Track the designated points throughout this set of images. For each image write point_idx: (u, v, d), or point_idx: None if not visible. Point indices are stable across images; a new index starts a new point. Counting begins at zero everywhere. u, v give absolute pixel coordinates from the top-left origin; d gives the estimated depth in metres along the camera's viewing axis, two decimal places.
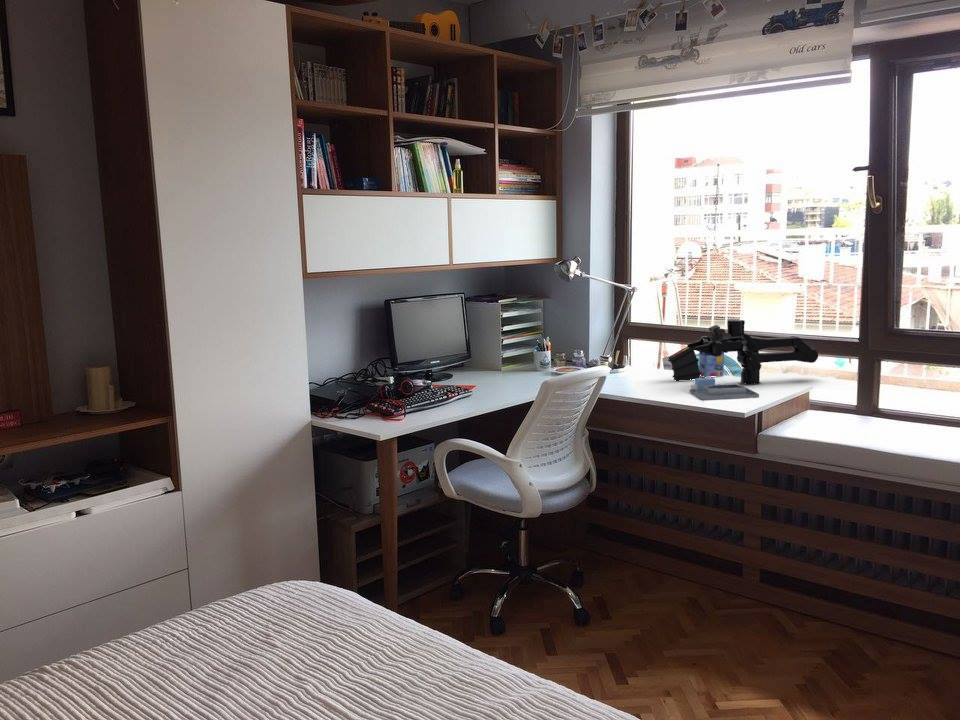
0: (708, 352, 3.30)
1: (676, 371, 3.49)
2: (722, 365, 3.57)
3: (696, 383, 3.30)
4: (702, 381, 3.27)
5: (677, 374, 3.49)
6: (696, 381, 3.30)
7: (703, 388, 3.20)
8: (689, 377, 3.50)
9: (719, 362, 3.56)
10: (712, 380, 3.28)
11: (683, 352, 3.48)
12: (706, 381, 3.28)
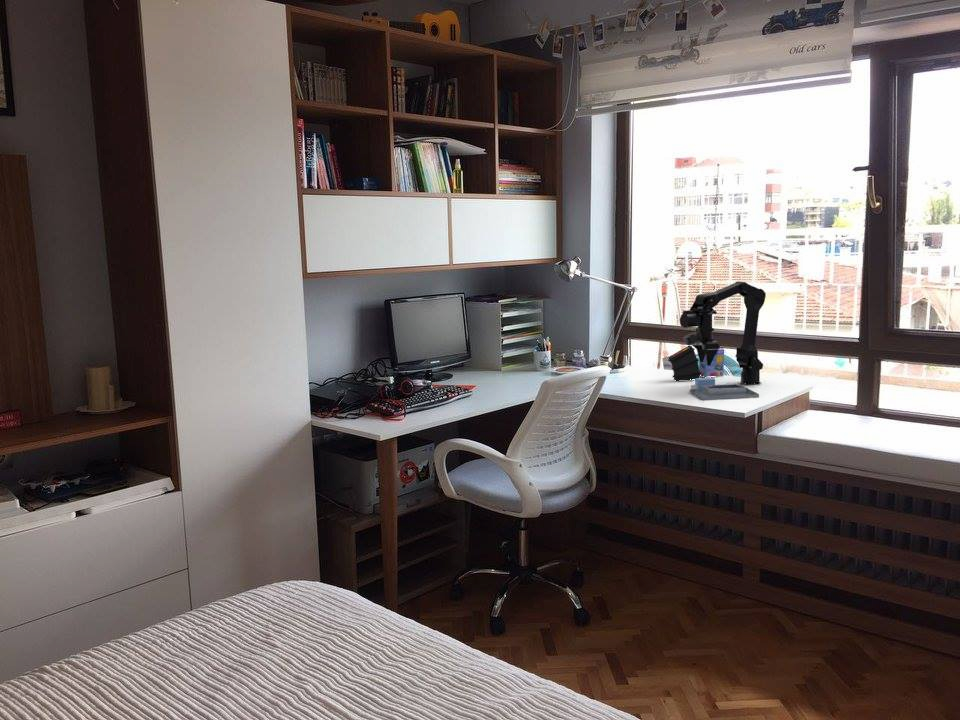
0: (714, 352, 3.22)
1: (676, 371, 3.49)
2: (722, 365, 3.57)
3: (696, 383, 3.30)
4: (702, 381, 3.28)
5: (677, 374, 3.49)
6: (696, 381, 3.30)
7: (703, 388, 3.20)
8: (689, 377, 3.50)
9: (719, 362, 3.56)
10: (712, 380, 3.28)
11: (683, 352, 3.48)
12: (706, 381, 3.28)
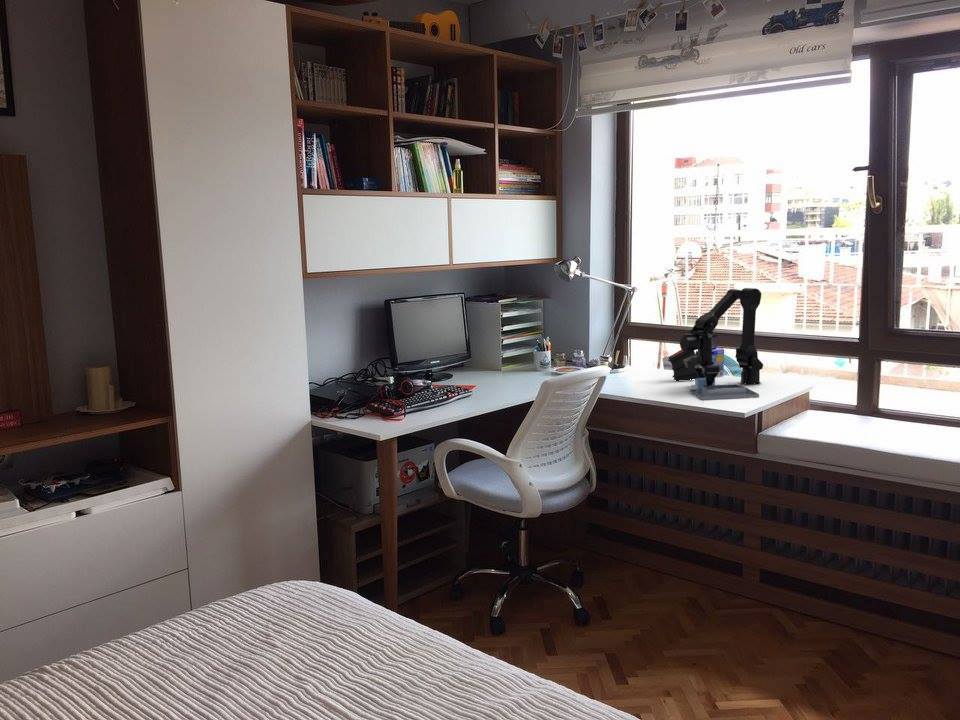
0: (714, 376, 3.23)
1: (676, 371, 3.49)
2: (722, 365, 3.57)
3: (696, 383, 3.30)
4: (702, 381, 3.28)
5: (677, 374, 3.49)
6: (696, 381, 3.30)
7: (703, 388, 3.20)
8: (689, 377, 3.50)
9: (719, 362, 3.56)
10: None
11: (683, 352, 3.48)
12: None
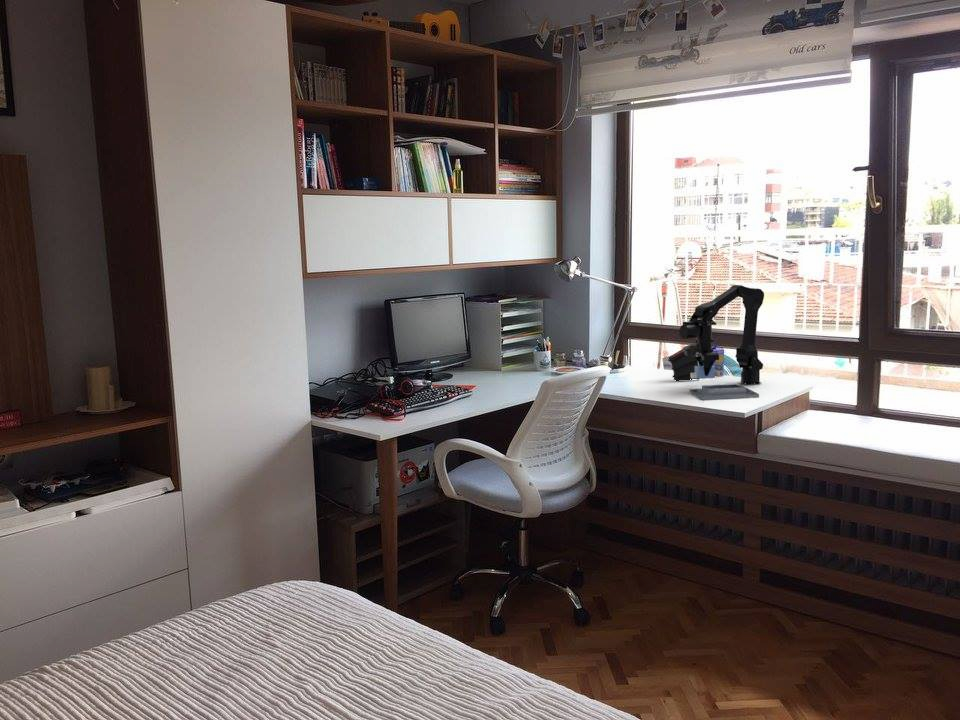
0: (711, 363, 3.25)
1: (676, 371, 3.49)
2: (722, 365, 3.57)
3: (696, 371, 3.29)
4: (702, 369, 3.27)
5: (677, 374, 3.49)
6: (696, 369, 3.29)
7: (703, 388, 3.20)
8: (689, 377, 3.50)
9: (719, 362, 3.56)
10: (711, 368, 3.27)
11: (683, 352, 3.48)
12: None
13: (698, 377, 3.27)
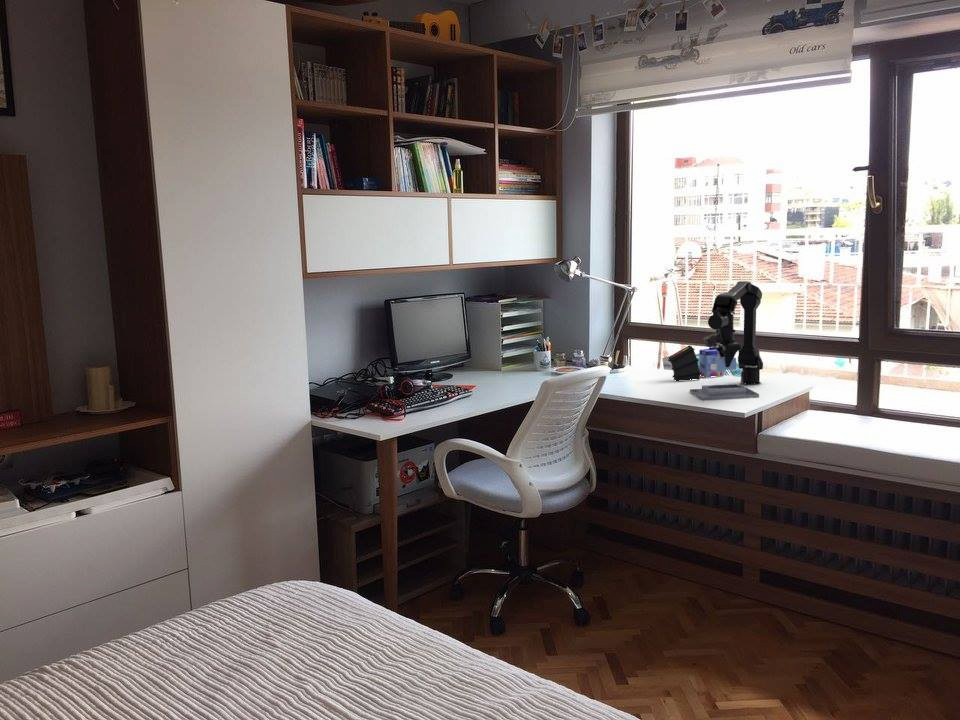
0: (733, 354, 3.13)
1: (676, 371, 3.49)
2: None
3: (716, 362, 3.17)
4: (722, 360, 3.15)
5: (677, 374, 3.49)
6: (716, 360, 3.17)
7: (703, 388, 3.20)
8: (689, 377, 3.50)
9: None
10: None
11: (683, 352, 3.48)
12: None
13: (719, 368, 3.15)
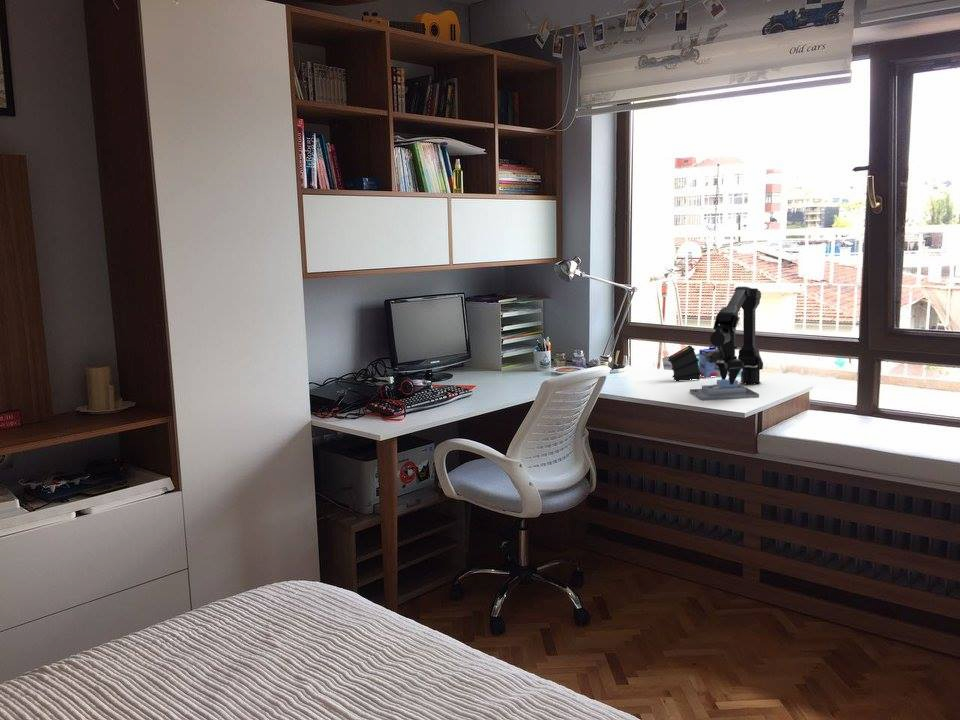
0: (737, 371, 3.11)
1: (676, 371, 3.49)
2: None
3: (718, 385, 3.18)
4: (724, 383, 3.16)
5: (677, 374, 3.49)
6: (718, 383, 3.18)
7: (703, 388, 3.20)
8: (689, 377, 3.50)
9: None
10: (734, 382, 3.16)
11: (683, 352, 3.48)
12: (728, 383, 3.16)
13: None
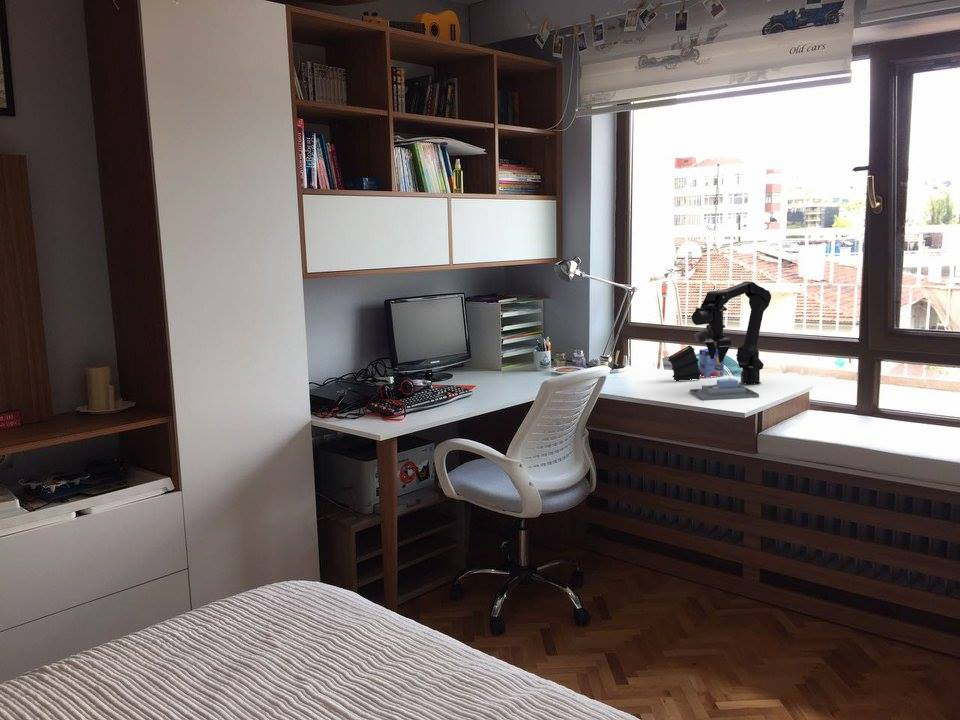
0: (726, 349, 3.21)
1: (676, 371, 3.49)
2: (722, 365, 3.57)
3: (718, 385, 3.18)
4: (724, 383, 3.16)
5: (677, 374, 3.49)
6: (718, 383, 3.18)
7: (703, 388, 3.20)
8: (689, 377, 3.50)
9: None
10: (734, 382, 3.16)
11: (683, 352, 3.48)
12: (728, 383, 3.16)
13: None
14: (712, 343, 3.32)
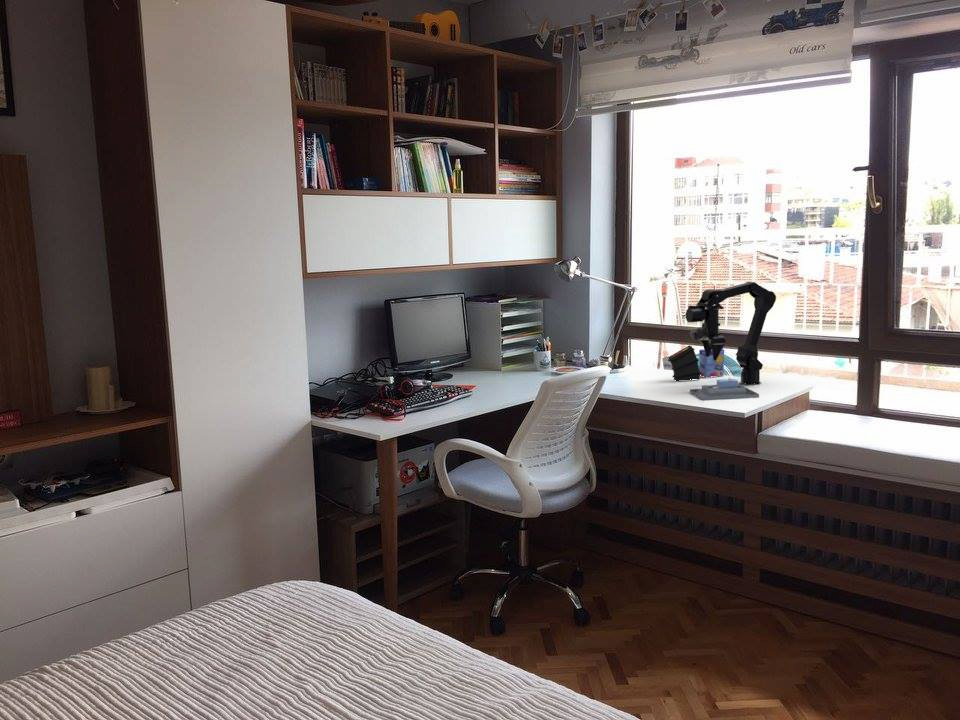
0: (720, 347, 3.25)
1: (676, 371, 3.49)
2: (722, 365, 3.57)
3: (718, 385, 3.18)
4: (724, 383, 3.16)
5: (677, 374, 3.49)
6: (718, 383, 3.18)
7: (703, 388, 3.20)
8: (689, 377, 3.50)
9: (719, 362, 3.56)
10: (734, 382, 3.16)
11: (683, 352, 3.48)
12: (728, 383, 3.16)
13: None
14: (708, 341, 3.36)
